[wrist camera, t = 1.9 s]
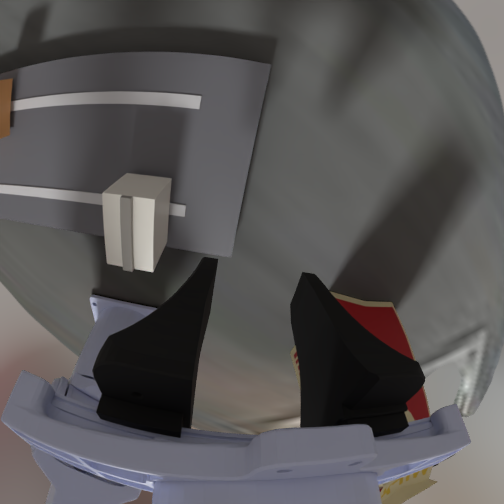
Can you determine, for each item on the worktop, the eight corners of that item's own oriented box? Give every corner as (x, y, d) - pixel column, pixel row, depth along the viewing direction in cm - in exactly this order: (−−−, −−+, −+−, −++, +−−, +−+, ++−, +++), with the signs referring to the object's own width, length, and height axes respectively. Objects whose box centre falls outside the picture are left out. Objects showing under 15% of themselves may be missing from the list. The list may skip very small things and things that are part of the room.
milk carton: (290, 352, 29) (310, 535, 12) (324, 289, 24) (384, 525, 7) (359, 358, 30) (399, 511, 13) (401, 302, 25) (477, 479, 8)
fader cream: (167, 241, 18) (151, 275, 15) (126, 235, 18) (105, 266, 15) (171, 178, 16) (153, 201, 13) (126, 172, 16) (99, 194, 12)
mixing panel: (232, 243, 21) (231, 258, 20) (-10, 205, 18) (-23, 214, 17) (268, 67, 15) (271, 64, 13) (-15, 81, 12) (-30, 84, 10)
